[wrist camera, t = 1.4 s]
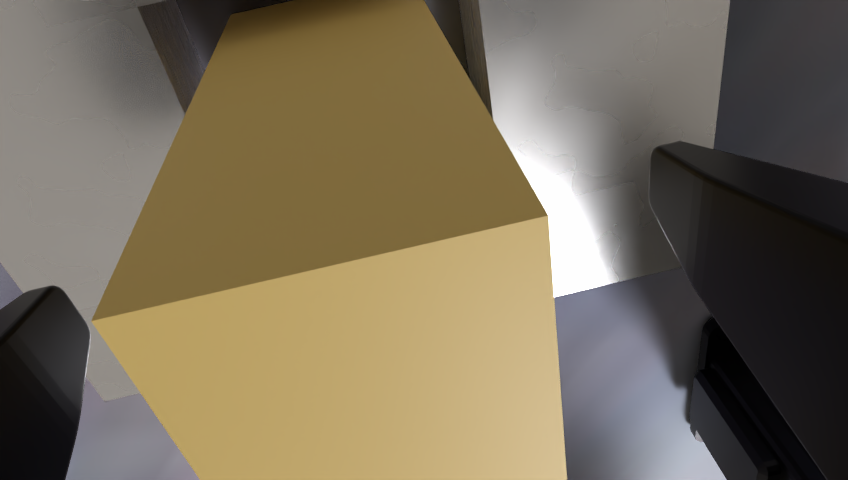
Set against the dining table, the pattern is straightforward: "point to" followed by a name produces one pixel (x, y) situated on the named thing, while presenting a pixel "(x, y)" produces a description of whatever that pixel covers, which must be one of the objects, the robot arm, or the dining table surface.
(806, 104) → the dining table surface
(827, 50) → the dining table surface
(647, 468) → the dining table surface
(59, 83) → the square hole plate
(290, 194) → the peg
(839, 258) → the robot arm
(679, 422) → the dining table surface
